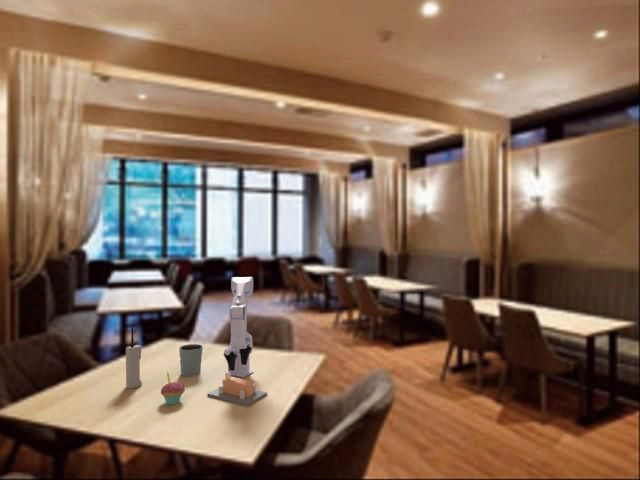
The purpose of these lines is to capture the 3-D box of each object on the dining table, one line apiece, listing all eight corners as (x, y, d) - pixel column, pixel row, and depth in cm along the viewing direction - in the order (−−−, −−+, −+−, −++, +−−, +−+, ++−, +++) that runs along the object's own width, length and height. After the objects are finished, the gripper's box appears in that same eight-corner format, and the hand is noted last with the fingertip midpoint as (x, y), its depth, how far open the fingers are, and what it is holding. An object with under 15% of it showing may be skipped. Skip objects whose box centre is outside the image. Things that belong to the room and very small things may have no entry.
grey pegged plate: (207, 396, 158) (207, 386, 158) (227, 385, 169) (227, 376, 169) (248, 406, 149) (248, 395, 149) (266, 394, 160) (266, 384, 160)
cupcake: (162, 408, 148) (161, 375, 147) (159, 399, 155) (159, 368, 155) (186, 403, 152) (186, 372, 151) (183, 395, 159) (182, 365, 159)
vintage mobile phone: (142, 385, 169) (141, 326, 168) (130, 389, 165) (129, 328, 164) (138, 383, 171) (137, 325, 171) (126, 386, 167) (125, 327, 167)
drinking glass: (174, 375, 182) (174, 348, 181) (189, 367, 191) (189, 342, 191) (192, 378, 178) (192, 351, 177) (207, 370, 187) (207, 345, 187)
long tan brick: (222, 392, 160) (222, 373, 160) (229, 388, 164) (229, 370, 163) (246, 397, 154) (246, 378, 154) (253, 394, 158) (253, 375, 158)
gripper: (234, 340, 157) (234, 374, 157) (256, 331, 170) (256, 363, 170) (220, 337, 160) (220, 371, 161) (243, 329, 173) (243, 360, 173)
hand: (238, 367), depth 166 cm, fingers open, 7 cm apart
